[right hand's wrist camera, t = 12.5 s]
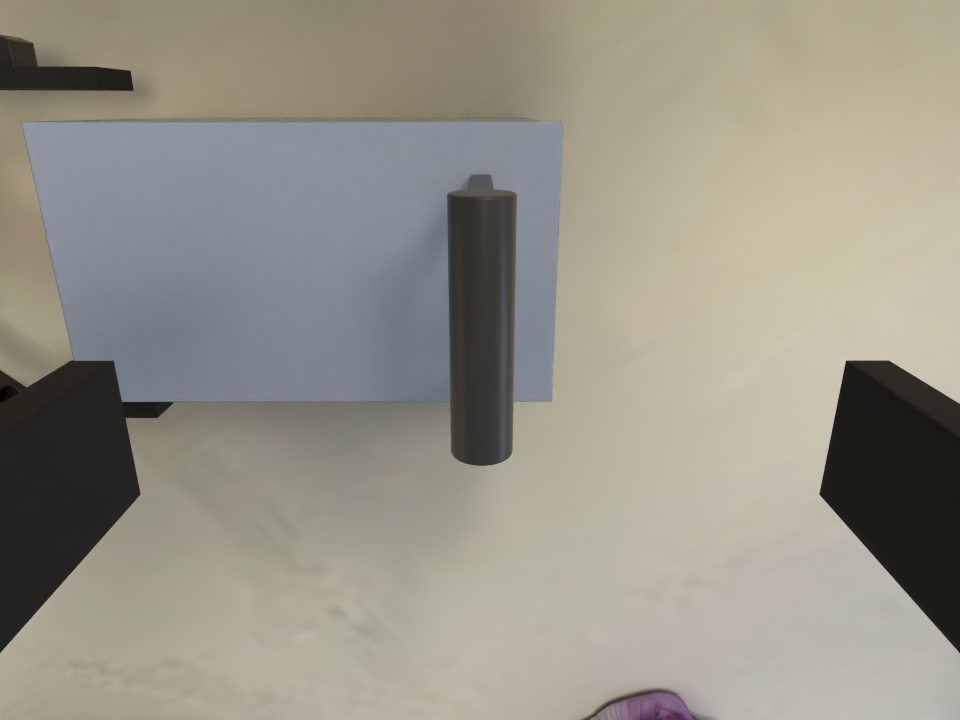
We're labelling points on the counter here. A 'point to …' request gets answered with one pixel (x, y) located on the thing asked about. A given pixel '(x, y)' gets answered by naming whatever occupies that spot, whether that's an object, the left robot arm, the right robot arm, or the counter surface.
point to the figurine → (647, 708)
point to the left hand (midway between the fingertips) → (145, 251)
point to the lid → (311, 261)
